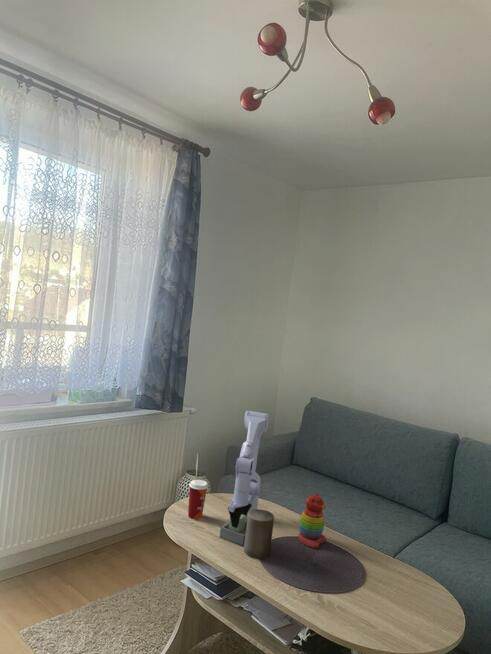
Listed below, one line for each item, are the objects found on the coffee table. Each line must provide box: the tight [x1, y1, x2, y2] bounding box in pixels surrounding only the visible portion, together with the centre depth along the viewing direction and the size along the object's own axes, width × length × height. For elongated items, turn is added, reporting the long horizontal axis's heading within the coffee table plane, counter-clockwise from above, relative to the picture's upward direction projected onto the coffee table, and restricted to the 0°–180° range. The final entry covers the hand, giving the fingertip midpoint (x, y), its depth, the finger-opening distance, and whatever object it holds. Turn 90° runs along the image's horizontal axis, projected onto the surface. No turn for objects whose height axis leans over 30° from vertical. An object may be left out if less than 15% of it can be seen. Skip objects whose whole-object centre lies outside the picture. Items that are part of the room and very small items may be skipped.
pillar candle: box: [243, 508, 275, 559], centre depth 174 cm, size 10×10×15 cm
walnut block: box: [239, 516, 248, 534], centre depth 187 cm, size 4×4×5 cm
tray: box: [219, 521, 246, 548], centre depth 184 cm, size 14×10×4 cm
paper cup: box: [187, 479, 209, 520], centre depth 196 cm, size 8×8×14 cm
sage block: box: [228, 514, 246, 533], centre depth 182 cm, size 4×4×5 cm
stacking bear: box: [297, 493, 327, 549], centre depth 187 cm, size 11×10×18 cm
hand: (237, 524), depth 182 cm, fingers closed on sage block, 4 cm apart
